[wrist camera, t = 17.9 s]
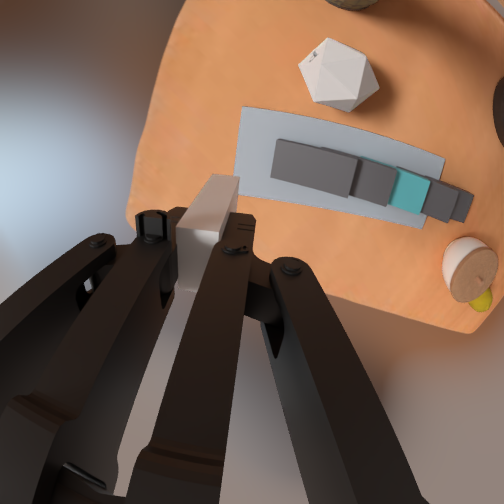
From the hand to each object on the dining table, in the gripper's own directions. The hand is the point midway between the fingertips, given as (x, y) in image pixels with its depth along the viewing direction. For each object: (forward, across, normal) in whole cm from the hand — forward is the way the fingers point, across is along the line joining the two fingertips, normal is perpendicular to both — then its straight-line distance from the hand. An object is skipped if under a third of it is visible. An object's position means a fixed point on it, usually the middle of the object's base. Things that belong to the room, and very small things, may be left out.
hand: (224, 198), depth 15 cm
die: (+22, -9, -10) cm, 26 cm away
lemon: (+22, -47, +18) cm, 55 cm away
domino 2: (+21, -9, +2) cm, 22 cm away
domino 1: (+21, -3, +2) cm, 21 cm away
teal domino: (+21, -14, +2) cm, 25 cm away
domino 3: (+21, -20, +2) cm, 29 cm away
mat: (+22, -13, +2) cm, 26 cm away
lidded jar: (+22, -39, +11) cm, 46 cm away
